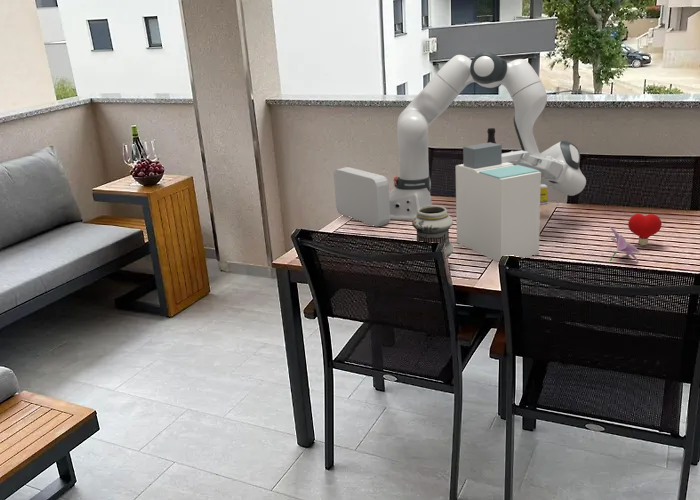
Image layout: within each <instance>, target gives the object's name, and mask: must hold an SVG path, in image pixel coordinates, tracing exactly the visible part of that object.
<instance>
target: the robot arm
mask: <svg viewBox="0 0 700 500" xmlns="http://www.w3.org/2000/svg"><path fill="white" fill-rule="evenodd" d="M471 83H473V84H475V85H477V86H480V87H482V88H485V89H487V90H488V89H489V90H492V89H493V90H494V89H497V88H499V87H501V86H503V87H504V88H505V89H506V90H507V92H508V93H509V96H510V97H511V100H512V102H513V105H514V116H513V119H512V120H513V127H514V130H515V133H516V136H517V140H518V142H519V145H520V148H521V150H522V151H527V152H530V153H529V155H527V154H524V153H522V155H521V157H520V158H521V159H523V160H517V161H512V162H510V163H512V164H513V165H520V166H524V167H528V168H532V169H536V170H539V172H541V183H543V184H545V185H547V186H548V187H551V188H552V189H553V190H555V191H557V192H559V193H560V194H563V195H567V196H572V197H573V196H575V195H578V194H579V193H581V192H582V191H583V190H584V189H585V186H586V185H587V184H586V183H587V180H586V177H585V175H584V174H583V173H582V171H581V169H580V162H581V153H580V150H579V148H578V147H577V146H576V145H575V144H573V143H571V141H568V140H560V141H559V142H557V143H555V144H554V145H552V146H550V147H548V148H547V149H545V150H543V151H542V152H540V150H539V147H538V145H537V141H536V138H535V135H534V131H533V129H534V124H535V123H536V121H537V120H538V118H539V116H540V114H542V112H543V111H544V109H545V107H546V105H547V101H548V94H547V91H546V88H545V86H544V84H543V82H542V80H541V79H540V77H539V75H538V74H537V72H536V71H535V69H534V68H533V66H532V65H531V64H530V63H529V62H528V61H527V60H526V59H523V58H518V59H514V60H512V61H510V62H507V60H505V59H504V58H502V57H500V56H499V55H497V54H495V53H493V52H489V51H485V52H484V51H482V52H480V53H478V54H477V55H475V56H474V57H473V59H471V58H470V57H468V56H466V55H463V54H456V55H454V56H453V57H452V58H451V59H449V60H448V61H447V62H446V63H445V64H444V65H443V66H442V67H441V68H440V69H439V70H438V71H437V72H436V73H435V74H434V75H433V77H432V78H431V79H430V80H429V81H428V82H427V84H426V85H425V86H424V88H423V89H422V90H421V91H420V92H419V93H418V94H417V95H416V96H415V97H414V98H413V99H412V100H411V101H410V103H409V104H408V105H407V106H406V107H405V108H404V109H403V110H402V111H401V113H400V114H399V116H398V117H397V124H396V125H397V126H396V134H397V136H396V137H397V147H398V148H397V149H398V150H397V154H398V172H399V173H398V175H399V176H397V175H396V176H394V177H393V182H394V183H393V184H394V187H393V188H392V189H391V190H389V206H390V220H406V221H407V220H412V221H413V219H414V217H415V216H417V212H418V209H419V208H421V207H424V206H432V205H433V204H432V203H433V202H432V198H431V190H432V187H431V186H432V182H431V176H430V170H429V168H430V166H429V127H430V126H431V125H432V124H433V123H434V121H436V119H437V118H439V116H440V115H442V114H443V113H444V112H445V111H446V110H447V109H448V108H449V107H450V105H451V104H452V103H453V102H454V101H455V100H456V98H458V97H459V95H460V94H461V93H462V92H463V91H464V89H465V88H466V87H467V86H468V85H470V84H471ZM515 151H516V150H511V151H510V152H515Z"/></svg>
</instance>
